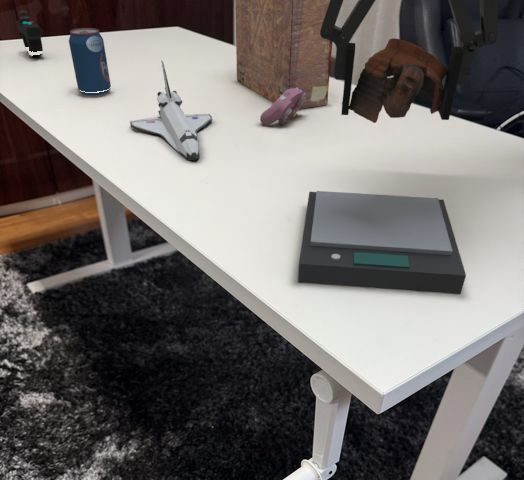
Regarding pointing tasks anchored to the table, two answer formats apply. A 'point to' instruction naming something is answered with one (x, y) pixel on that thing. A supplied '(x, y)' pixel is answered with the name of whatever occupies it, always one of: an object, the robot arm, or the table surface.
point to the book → (283, 48)
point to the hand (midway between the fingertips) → (393, 113)
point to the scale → (380, 243)
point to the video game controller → (284, 107)
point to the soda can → (89, 61)
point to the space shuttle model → (175, 123)
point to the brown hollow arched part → (397, 81)
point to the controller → (30, 33)
